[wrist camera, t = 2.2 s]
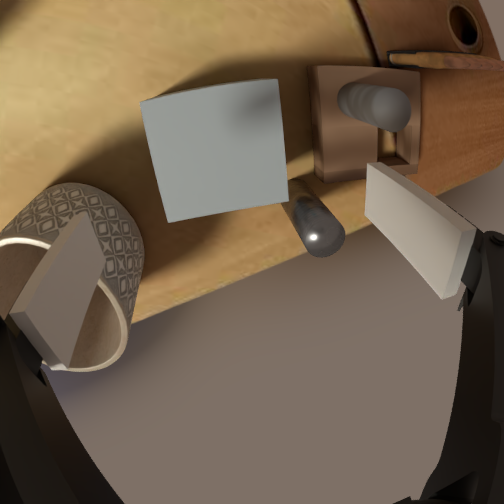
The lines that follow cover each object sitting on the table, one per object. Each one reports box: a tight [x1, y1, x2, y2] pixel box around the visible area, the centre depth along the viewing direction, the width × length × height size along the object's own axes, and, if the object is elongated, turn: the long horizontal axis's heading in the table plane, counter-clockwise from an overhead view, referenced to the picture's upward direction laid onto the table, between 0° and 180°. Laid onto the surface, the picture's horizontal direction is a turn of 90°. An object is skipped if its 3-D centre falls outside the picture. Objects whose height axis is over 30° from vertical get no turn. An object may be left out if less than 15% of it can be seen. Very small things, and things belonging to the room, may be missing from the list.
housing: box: [140, 79, 289, 223], centre depth 25 cm, size 10×10×8 cm
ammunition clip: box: [387, 50, 504, 71], centre depth 20 cm, size 11×2×12 cm, turn 105°
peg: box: [281, 179, 345, 257], centre depth 29 cm, size 4×4×10 cm
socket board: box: [307, 65, 421, 184], centre depth 25 cm, size 12×12×10 cm
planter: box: [0, 183, 145, 372], centre depth 27 cm, size 16×16×13 cm
